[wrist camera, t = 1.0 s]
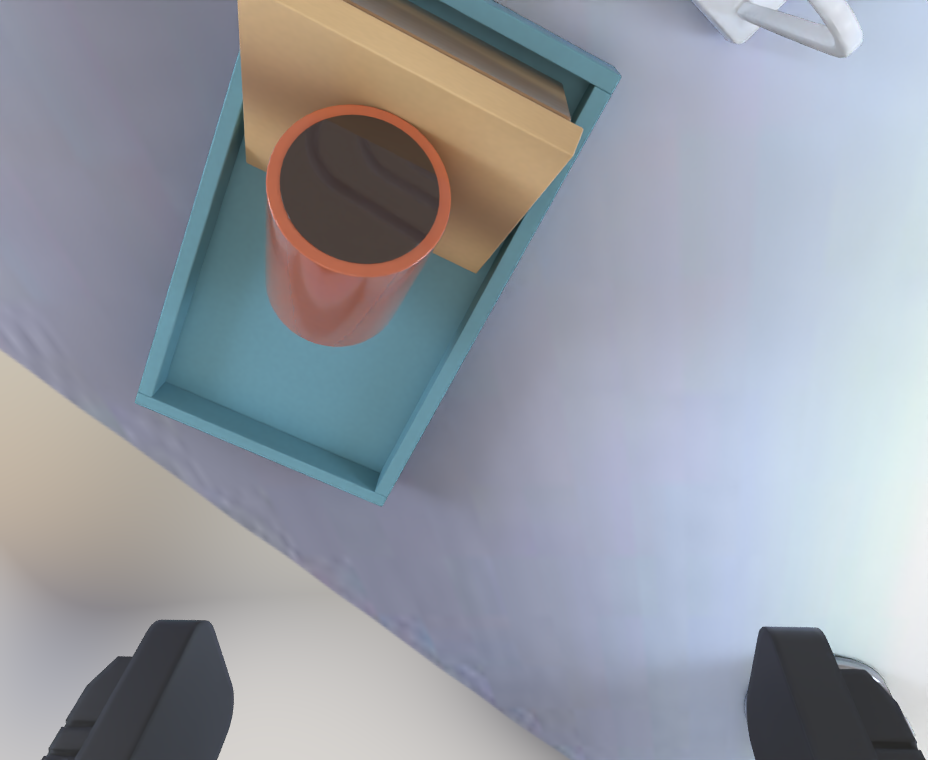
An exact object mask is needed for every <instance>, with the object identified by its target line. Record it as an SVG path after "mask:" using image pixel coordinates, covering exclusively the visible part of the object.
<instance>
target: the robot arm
mask: <svg viewBox="0 0 928 760" xmlns="http://www.w3.org/2000/svg"><path fill="white" fill-rule="evenodd" d="M233 705H234V693H233V687H232V683H231V680H230V677H229V674H228V670H227V667H226V664H225V661H224V658H223V655H222V652H221V649H220V646H219V643H218V640H217V636H216V633H215V631H214V628H213V626H212V624H211V623H210V622H209V621H205V620H158V621H156V622H154V623H153V624H152V625H151V626H150V628H149V629H148V631H147V632H146V634H145V636H144V638H143V639H142V641H141V643H140V645H139V646H138V649H137V650H136V652H135V654H134V655H133V657H122V656H121V657H120V656H118V657H117V658H116V659H115V660H114V661H113V662H112V663H110V664H109V665H108V666H107V667H106V668H105V669H104V670H103V671H102V672H101V673H100V674H99V675H98V676H97V677H96V678H94V679H93V680H92V681H91V682H90V683H89V684H88V685H87V687H86V688H85V689H84V691H83V693H82V694H81V696H80V698H79V699H78V701H77V703H76V704H75V706H74V708H73V709H72V711H71V713H70V714H69V716H68V717H67V719H66V725H65V727H61V729H60V731H59V732H58V734H57V735H56V737H55V739H54V740H53V742H52V744H51V745H50V747H49V753H48V755H47V756H44V757H43V758H42V760H217V758H218V756H219V753H220V751H221V748H222V745H223V743H224V741H225V738H226V735H227V733H228V730H229V727H230V723H231V719H232V714H233ZM744 711H745V716H746V719H747V724H748V731H749V736H750V741H751V745H752V749H753V752H754V756H755V760H925V758H924V756H923V754H922V752H921V750H918V748H917V742H916V740H915V738H914V736H915V733H914V731H913V729H912V727H911V725H910V723H909V721H908V719H907V718H906V717H904V715H903V713H902V711H901V709H900V707H899V705H898V703H897V702H896V701H895V700H894V699H893V698H892V695H891V693H890V691H889V689H888V687H887V685H886V683H885V681H884V680H883V678H882V677H881V676H880V675H879V674H878V673H877V672H876V671H875V670H873V669H872V668H870V667H869V666H867V665H865V664H863V663H861V662H858V661H855V660H852V659H847V658H842V657H834V655H833V652H832V650H831V648H830V646H829V643H828V641H827V639H826V637H825V635H824V634H823V632H822V631H821V630H820V629H819V628H810V627H762V628H761V629H760V631H759V634H758V638H757V644H756V649H755V655H754V660H753V666H752V671H751V677H750V682H749V688H748V693H747V695H746V698H745V702H744ZM913 735H914V736H913Z"/></svg>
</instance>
